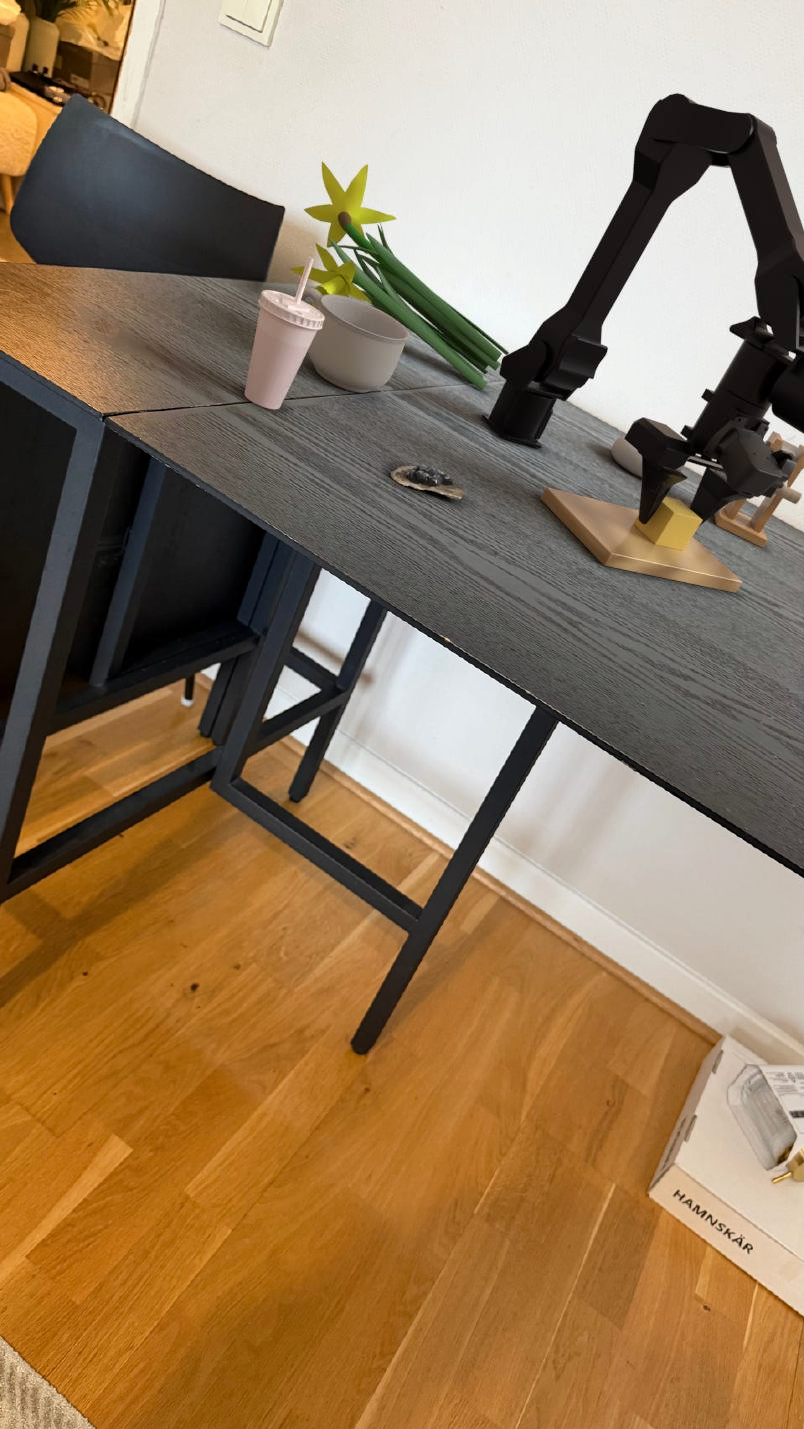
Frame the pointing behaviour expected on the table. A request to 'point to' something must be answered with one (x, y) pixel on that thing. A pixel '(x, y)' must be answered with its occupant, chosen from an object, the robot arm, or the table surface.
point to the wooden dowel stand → (753, 526)
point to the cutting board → (635, 543)
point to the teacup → (355, 342)
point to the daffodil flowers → (393, 282)
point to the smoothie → (280, 343)
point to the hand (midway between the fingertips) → (663, 528)
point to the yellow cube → (671, 524)
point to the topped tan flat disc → (428, 480)
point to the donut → (627, 456)
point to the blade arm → (786, 491)
